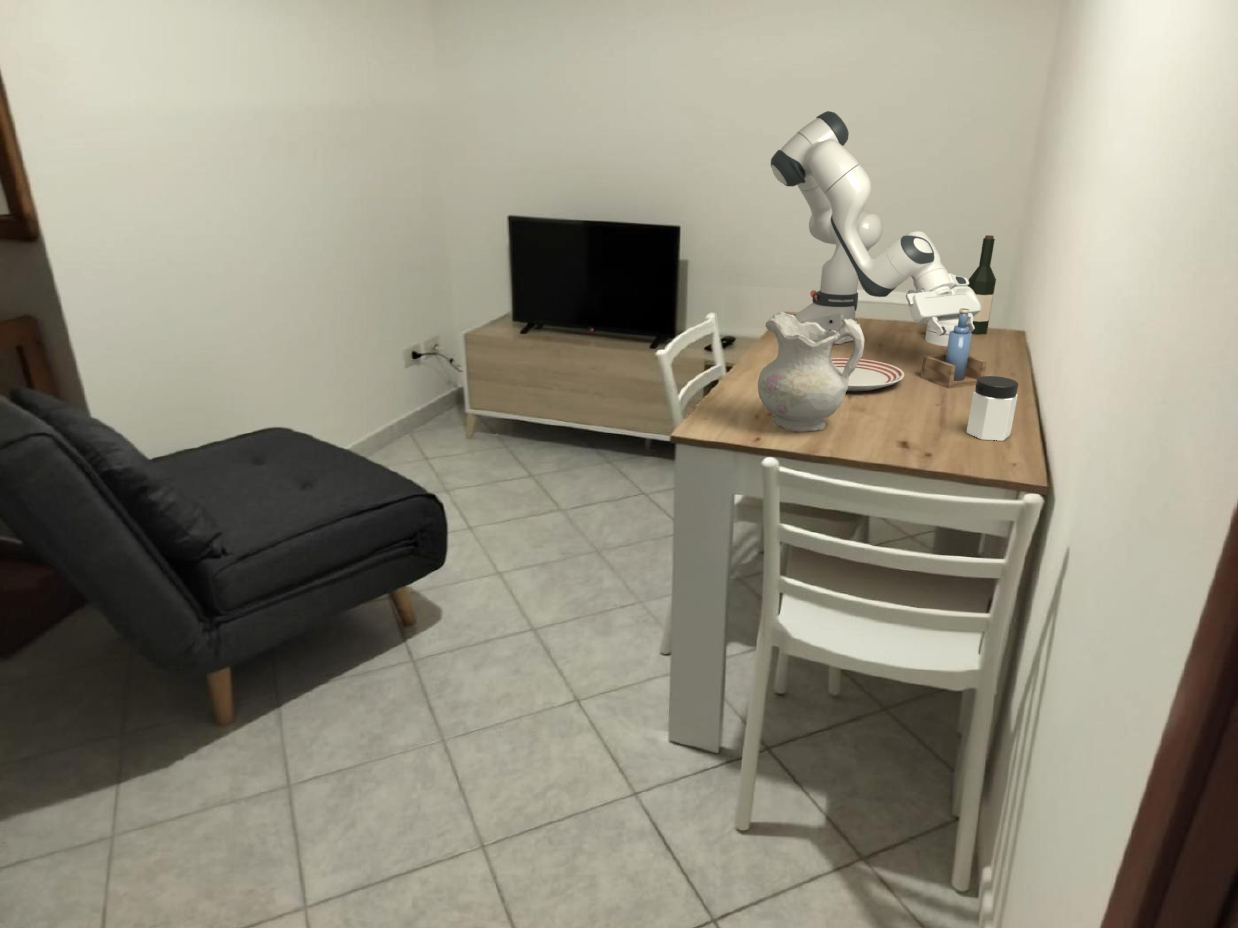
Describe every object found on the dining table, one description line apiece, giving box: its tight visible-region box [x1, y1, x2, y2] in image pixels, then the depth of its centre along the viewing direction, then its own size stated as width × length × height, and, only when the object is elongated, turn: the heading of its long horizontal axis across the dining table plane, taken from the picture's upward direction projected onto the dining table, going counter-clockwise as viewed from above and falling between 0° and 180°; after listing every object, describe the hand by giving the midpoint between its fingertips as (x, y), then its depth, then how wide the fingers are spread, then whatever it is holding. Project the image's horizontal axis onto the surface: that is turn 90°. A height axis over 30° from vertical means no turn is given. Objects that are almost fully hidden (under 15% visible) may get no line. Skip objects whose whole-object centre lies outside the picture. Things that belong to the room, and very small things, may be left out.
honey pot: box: [924, 319, 959, 347], centre depth 253 cm, size 13×13×18 cm
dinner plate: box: [831, 357, 905, 392], centre depth 217 cm, size 28×27×3 cm
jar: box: [966, 375, 1019, 442], centre depth 178 cm, size 9×8×12 cm
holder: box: [920, 352, 987, 389], centre depth 217 cm, size 10×11×6 cm
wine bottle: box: [968, 234, 997, 336], centre depth 262 cm, size 8×8×30 cm
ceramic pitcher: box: [757, 311, 865, 433], centre depth 182 cm, size 22×20×25 cm
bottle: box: [945, 308, 973, 381], centre depth 213 cm, size 5×5×18 cm
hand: (956, 332), depth 214 cm, fingers open, 8 cm apart
